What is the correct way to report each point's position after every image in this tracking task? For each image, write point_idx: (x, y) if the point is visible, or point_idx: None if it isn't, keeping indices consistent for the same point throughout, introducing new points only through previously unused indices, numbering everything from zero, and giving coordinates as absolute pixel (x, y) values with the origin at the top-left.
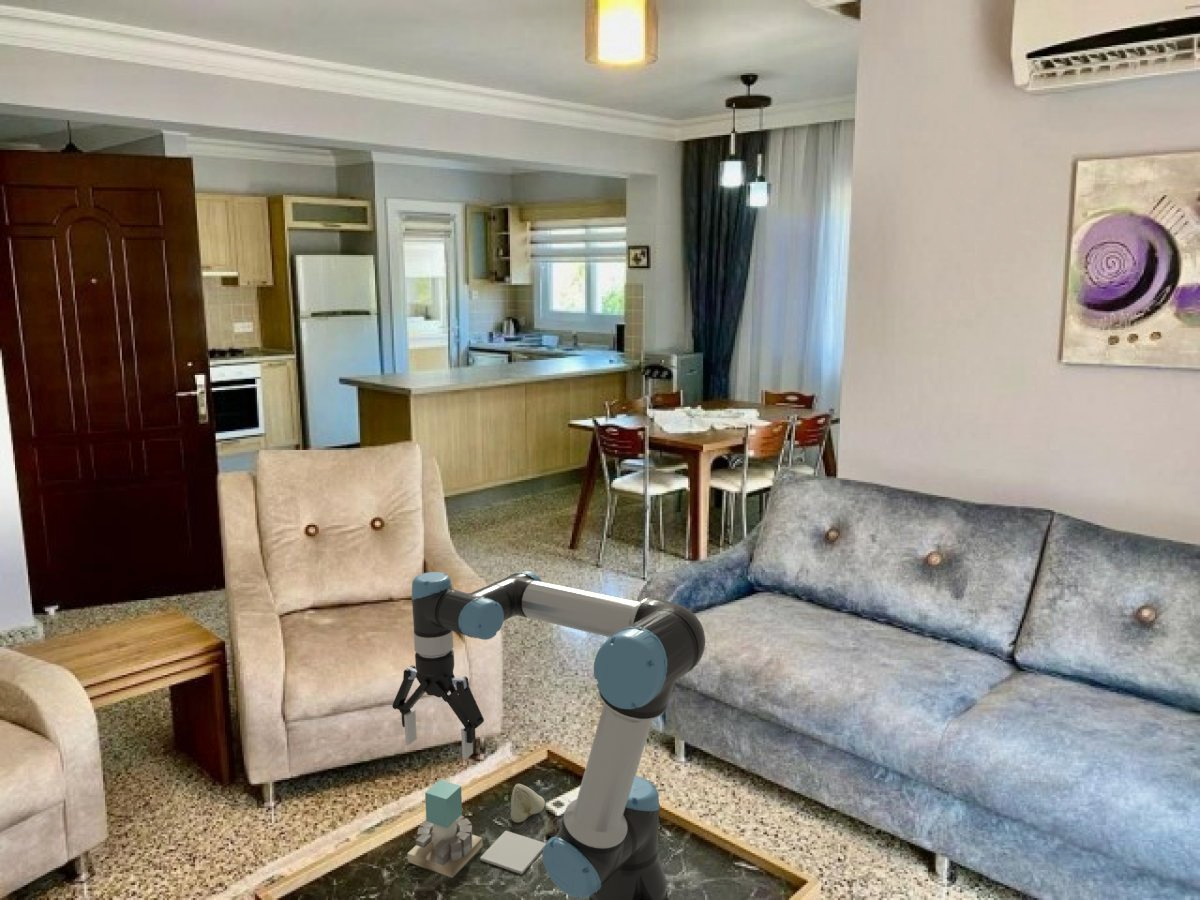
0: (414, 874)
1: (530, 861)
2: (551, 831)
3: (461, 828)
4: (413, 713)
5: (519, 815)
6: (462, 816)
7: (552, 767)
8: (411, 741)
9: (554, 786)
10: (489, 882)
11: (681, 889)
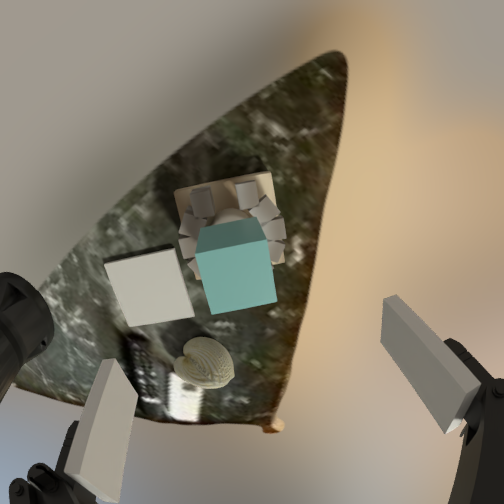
0: (234, 155)
1: (113, 287)
2: (150, 348)
3: None
4: (443, 417)
5: (192, 346)
6: None
7: (251, 420)
8: (385, 318)
9: (221, 404)
10: (124, 220)
11: None
